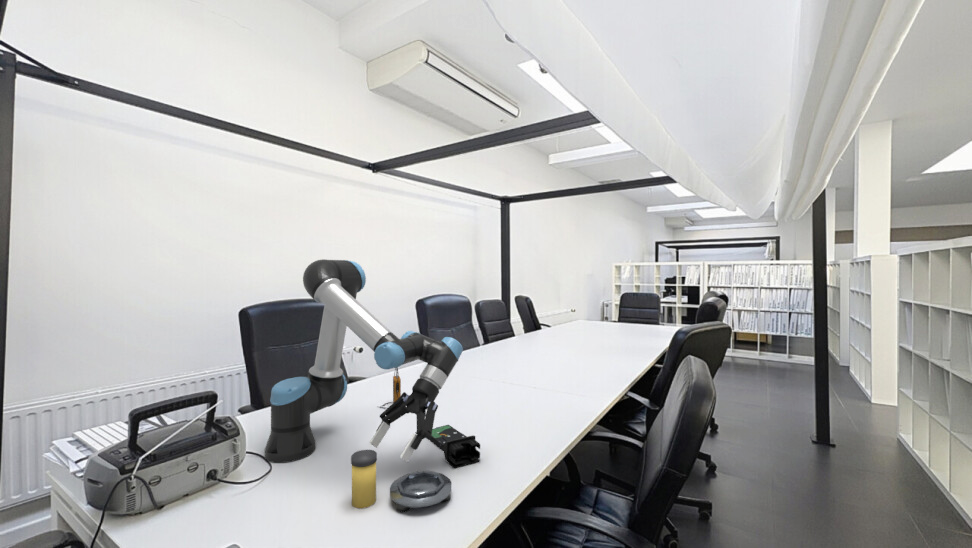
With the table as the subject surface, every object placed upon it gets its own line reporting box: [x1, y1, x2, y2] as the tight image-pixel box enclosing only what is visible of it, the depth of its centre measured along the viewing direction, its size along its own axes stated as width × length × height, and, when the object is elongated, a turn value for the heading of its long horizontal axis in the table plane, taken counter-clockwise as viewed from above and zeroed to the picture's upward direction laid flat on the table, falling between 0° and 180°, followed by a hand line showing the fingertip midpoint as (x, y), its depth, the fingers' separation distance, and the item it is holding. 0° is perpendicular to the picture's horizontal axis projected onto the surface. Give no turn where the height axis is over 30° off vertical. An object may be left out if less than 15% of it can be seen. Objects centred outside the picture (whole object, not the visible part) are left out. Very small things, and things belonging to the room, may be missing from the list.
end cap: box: [442, 435, 481, 470], centre depth 124 cm, size 10×7×7 cm
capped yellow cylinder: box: [350, 449, 378, 509], centre depth 102 cm, size 6×6×12 cm
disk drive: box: [426, 424, 468, 452], centre depth 140 cm, size 10×3×15 cm
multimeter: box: [376, 367, 402, 409], centre depth 173 cm, size 15×10×20 cm
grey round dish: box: [389, 470, 452, 513], centre depth 104 cm, size 16×16×4 cm
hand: (387, 452), depth 106 cm, fingers open, 13 cm apart
